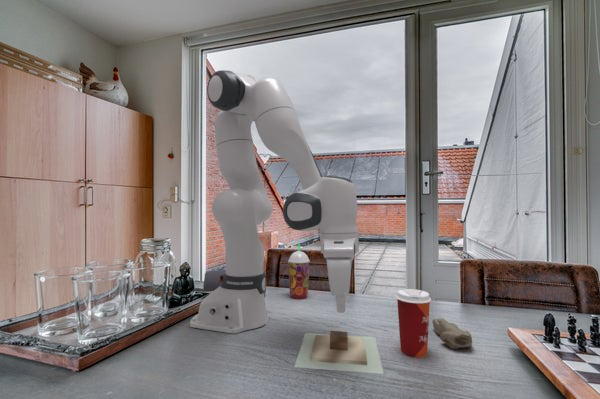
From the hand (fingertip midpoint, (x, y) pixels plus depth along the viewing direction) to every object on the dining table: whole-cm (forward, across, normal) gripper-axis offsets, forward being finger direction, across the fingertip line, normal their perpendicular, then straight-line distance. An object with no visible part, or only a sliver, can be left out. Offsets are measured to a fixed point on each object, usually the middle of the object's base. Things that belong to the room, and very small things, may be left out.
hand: (341, 305), depth 72 cm
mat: (+11, 0, -1) cm, 11 cm away
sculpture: (+12, -12, +27) cm, 32 cm away
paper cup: (+12, -2, +16) cm, 20 cm away
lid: (+10, 0, -1) cm, 11 cm away
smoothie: (+10, -44, -17) cm, 49 cm away
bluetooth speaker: (+10, -42, -41) cm, 60 cm away
